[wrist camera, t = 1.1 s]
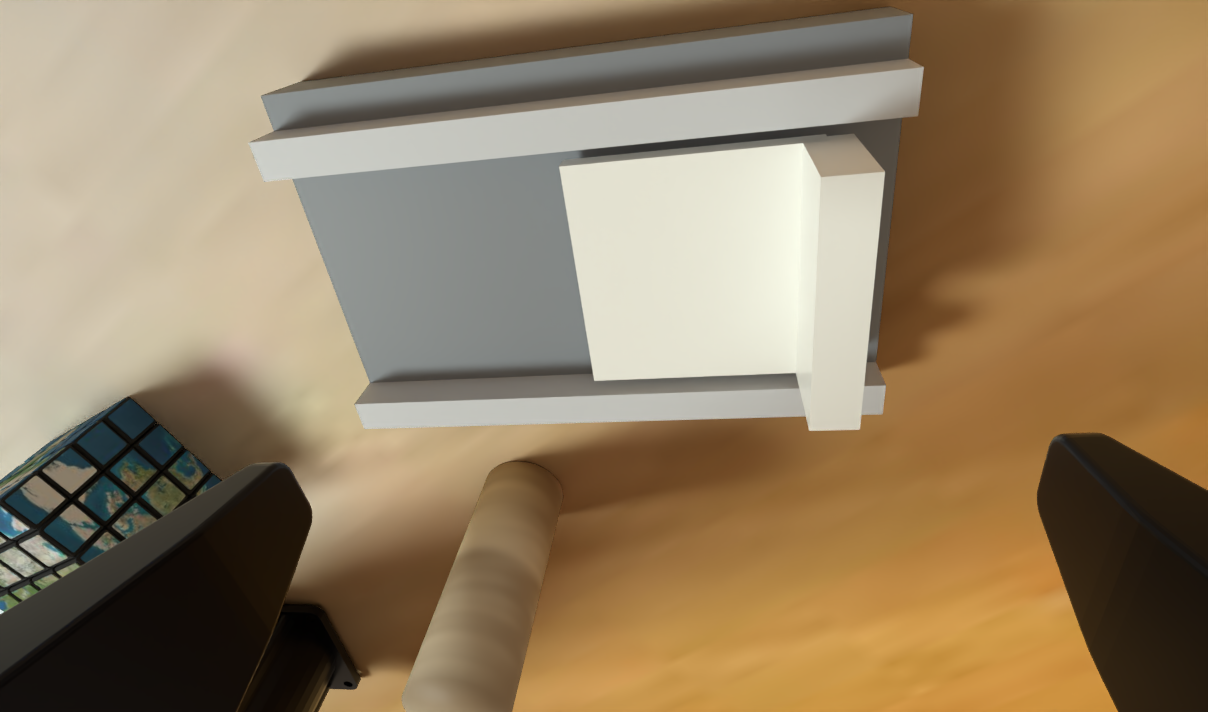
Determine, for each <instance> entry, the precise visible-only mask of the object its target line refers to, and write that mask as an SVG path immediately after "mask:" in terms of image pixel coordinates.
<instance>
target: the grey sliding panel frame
mask: <svg viewBox="0 0 1208 712" xmlns="http://www.w3.org/2000/svg"><path fill="white" fill-rule="evenodd" d="M912 20H913V14H911V13H908V12H905V11H902V10H899V9H896V8H893V7H883V8H875V9H867V10H859V11H852V12H844V13H836V14H828V15H820V16H812V17H805V18H797V19H789V20H781V21H773V22H765V23H758V24H750V25H742V26H734V27H726V28H718V29H711V30H703V31H695V32H687V33H679V34H672V35H664V36H656V37H648V38H640V39H632V40H625V41H617V42H609V43H601V44H593V45H585V46H578V47H570V48H562V49H554V50H546V51H538V52H531V53H523V54H515V55H507V56H499V57H491V58H484V59H476V60H468V61H460V62H452V63H444V64H437V65H429V66H421V67H413V68H405V69H397V70H390V71H382V72H374V73H366V74H358V75H351V76H343V77H335V78H327V79H319V80H311V81H304V82H298V83H295V84H293V85H290V86H287V87H284V88H281V89H279V90H276V91H273V92H270V93H267V94H265V95H262V96H261V98H262V101H263V103H264V106H265V109H266V111H267V114H268V117H269V119H270V122H271V124H272V127H273V130H274V131H273V132H271V133H269V134H267V135H265V136H262V137H260V138H258V139H256V140H254V141H251V142H249V146H250V148H251V151H252V153H253V156H254V158H255V160H256V163H257V165H258V168H259V170H260V173H261V175H262V178H263V180H264V182H266V181H276V180H286V179H293V182H294V185H295V187H296V190H297V192H298V195H299V198H300V200H301V203H302V206H303V208H304V211H305V213H306V216H307V219H308V221H309V224H310V227H311V229H312V232H313V234H314V237H315V240H316V242H317V245H318V248H319V250H320V253H321V255H322V258H323V261H324V263H325V266H326V268H327V271H328V274H329V276H330V279H331V282H332V284H333V287H334V289H335V292H336V295H337V297H338V300H339V303H340V305H341V308H342V310H343V313H344V316H345V318H346V321H347V324H348V326H349V329H350V331H351V334H352V337H353V339H354V342H355V344H356V347H357V350H358V352H359V355H360V358H361V360H362V363H363V365H364V368H365V371H366V373H367V376H368V379H369V381H370V384H369V385H368V386H367V388H366V389H365V391H364V392H363V393H362V395H361V396H360V397H359V399H358V400H357V401H356V403H355V404H354V405H355V407H356V410H357V412H358V415H359V417H360V419H361V422H362V424H363V427H364V429H381V428H417V427H452V426H487V425H522V424H557V423H592V422H627V421H662V420H697V419H732V418H768V417H803V416H806V415H805V410H804V406H803V402H802V397H801V393H800V389H799V384H798V380H797V376H796V373H781V374H756V375H731V376H705V377H680V378H655V379H629V380H604V381H594V376H593V370H592V364H591V358H590V352H589V346H588V340H587V334H586V328H585V322H584V315H583V309H582V303H581V297H580V291H579V285H578V279H577V273H576V267H575V261H574V254H573V248H572V242H571V236H570V230H569V224H568V218H567V212H566V206H565V200H564V193H563V187H562V181H561V175H560V169H559V166H560V164H561V163H562V161H563V160H567V159H577V158H587V157H597V156H607V155H618V154H628V153H638V152H648V151H658V150H668V149H679V148H689V147H699V146H709V145H719V144H730V143H740V142H750V141H760V140H770V139H780V138H791V137H801V136H811V135H821V134H826V135H827V136H834V135H844V134H855V136H856V137H857V138H858V139H859V140H860V142H861V143H862V144H863V145H864V147H865V148H866V149H867V150H868V151H869V153H870V154H871V155H872V156H873V158H874V159H875V160H876V161H877V162H878V164H879V165H880V166H881V167H882V169H883V170H884V171H885V178H884V188H883V198H882V208H881V218H880V229H879V239H878V249H877V259H876V270H875V280H874V290H873V300H872V310H871V321H870V331H869V341H868V351H867V362H866V372H865V382H864V392H863V402H862V413H861V415H873V414H883V406H884V398H885V390H886V384H885V382H884V380H883V377H882V375H881V373H880V370H879V368H878V365H877V363H876V357H877V348H878V339H879V329H880V320H881V310H882V301H883V292H884V282H885V273H886V264H887V254H888V245H889V236H890V226H891V217H892V208H893V198H894V189H895V179H896V170H897V161H898V151H899V142H900V133H901V123H902V118H904V117H914V116H918V113H919V104H920V96H921V87H922V79H923V71H924V67H923V66H921V65H919V64H917V63H916V62H914V61H912V60H910V59H908V58H909V49H910V39H911V30H912Z"/></svg>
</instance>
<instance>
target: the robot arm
mask: <svg viewBox="0 0 1208 712" xmlns="http://www.w3.org/2000/svg"><path fill="white" fill-rule="evenodd" d="M1037 505H1038V510H1039V514H1040V517H1041V520H1042V523H1043V525H1044V528H1045V531H1046V534H1047V537H1048V539H1049V542H1050V545H1051V548H1052V551H1053V553H1054V556H1055V559H1056V562H1057V565H1058V567H1059V570H1060V573H1061V576H1062V579H1063V581H1064V584H1065V587H1066V590H1067V593H1068V595H1069V598H1070V601H1071V604H1072V607H1073V609H1074V612H1075V615H1076V618H1077V621H1078V623H1079V626H1080V629H1081V631H1082V634H1083V637H1084V639H1085V642H1086V644H1087V647H1088V649H1089V652H1090V654H1091V656H1092V658H1093V661H1094V663H1095V665H1096V667H1097V669H1098V671H1099V674H1100V676H1101V678H1102V680H1103V682H1104V684H1105V686H1106V688H1107V690H1108V692H1109V694H1110V696H1111V698H1112V700H1113V702H1114V704H1115V706H1116V708H1117V710H1118V712H1208V490H1206V489H1204V488H1202V487H1200V486H1199V485H1197V484H1195V483H1193V482H1191V481H1189V480H1188V479H1186V478H1184V477H1182V476H1180V475H1178V474H1177V473H1175V472H1173V471H1171V470H1169V469H1167V468H1166V467H1164V466H1162V465H1160V464H1158V463H1157V462H1155V461H1153V460H1151V459H1149V458H1147V457H1146V456H1144V455H1142V454H1140V453H1138V452H1136V451H1135V450H1133V449H1131V448H1129V447H1127V446H1125V445H1124V444H1122V443H1120V442H1118V441H1116V440H1115V439H1113V438H1111V437H1109V436H1107V435H1104V434H1101V433H1069V434H1060V435H1058V436H1056V437H1054V438H1053V440H1052V441H1051V443H1050V446H1049V449H1048V452H1047V456H1046V460H1045V464H1044V468H1043V471H1042V475H1041V479H1040V483H1039V487H1038V491H1037ZM311 523H312V509H311V506H310V503H309V502H308V500H307V498H306V496H305V494H304V492H303V491H302V489H301V487H300V485H299V483H298V482H297V480H296V478H295V476H294V474H293V472H292V471H291V469H290V468H289V467H288V466H287V465H285V464H284V463H280V462H266V463H254V464H251V465H249V466H247V467H245V468H243V469H242V470H240V471H238V472H237V473H235V474H233V475H232V476H230V477H228V478H227V479H225V480H223V481H222V482H220V483H218V484H217V485H215V486H213V487H212V488H210V489H208V490H207V491H205V492H203V493H202V494H200V495H198V496H197V497H195V498H193V499H192V500H190V501H188V502H187V503H185V504H183V505H182V506H180V507H178V508H177V509H175V510H173V511H172V512H170V513H168V514H167V515H165V516H163V517H162V518H160V519H158V520H157V521H155V522H153V523H152V524H150V525H148V526H147V527H145V528H143V529H142V530H140V531H138V532H137V533H135V534H133V535H132V536H130V537H128V538H127V539H125V540H123V541H122V542H120V543H118V544H117V545H115V546H113V547H112V548H110V549H108V550H107V551H105V552H103V553H102V554H100V555H98V556H97V557H95V558H93V559H92V560H90V561H88V562H87V563H85V564H83V565H82V566H80V567H78V568H77V569H75V570H73V571H72V572H70V573H68V574H67V575H65V576H63V577H62V578H60V579H58V580H57V581H55V582H53V583H52V584H50V585H48V586H47V587H45V588H43V589H42V590H40V591H38V592H37V593H35V594H33V595H32V596H30V597H28V598H27V599H25V600H23V601H22V602H20V603H18V604H17V605H15V606H13V607H12V608H10V609H8V610H7V611H5V612H3V613H2V614H0V712H318V711H319V709H320V707H321V705H322V703H323V701H324V699H325V697H326V695H327V693H328V691H329V689H350V690H352V689H356V688H357V686H358V684H359V682H360V680H361V679H360V676H359V675H358V673H357V671H356V669H355V667H354V665H353V664H352V662H351V660H350V658H349V656H348V655H347V653H346V651H345V649H344V647H343V645H342V644H341V642H340V640H339V638H338V636H337V634H336V633H335V631H334V629H333V627H332V625H331V623H330V622H329V620H328V618H327V616H326V614H325V613H324V611H323V610H322V609H321V608H319V607H317V606H312V605H283V604H284V601H285V598H286V595H287V592H288V589H289V587H290V584H291V581H292V578H293V575H294V572H295V570H296V567H297V564H298V561H299V558H300V555H301V553H302V550H303V547H304V544H305V541H306V538H307V536H308V533H309V530H310V527H311Z"/></svg>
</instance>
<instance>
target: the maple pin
mask: <svg viewBox="0 0 1208 712" xmlns="http://www.w3.org/2000/svg"><path fill="white" fill-rule="evenodd" d="M562 500H563V491H562V487H561V485H560V483H559V482H558V480H557V479H556V478H555V476H554V475H552V474H551V473H550V472H549V471H547V470H546V469H544V468H542V467H540V466H538V465H535V464H532V463H528V462H522V461H513V462H507V463H503V464H501V465H499V466H497V467H495V468H494V469H493V470H492V471H491V472H490V473H489V475H488V477H487V479H486V481H485V484H484V487H483V489H482V492H481V494H480V497H479V499H478V502H477V505H476V507H475V510H474V512H473V515H472V517H471V520H470V522H469V525H468V528H467V530H466V533H465V535H464V538H463V540H462V543H461V546H460V548H459V551H458V553H457V556H456V558H455V561H454V564H453V566H452V569H451V571H450V574H449V576H448V579H447V581H446V584H445V587H444V589H443V592H442V594H441V597H440V599H439V602H438V605H437V607H436V610H435V612H434V615H433V617H432V620H431V623H430V625H429V628H428V630H427V633H426V635H425V638H424V641H423V643H422V646H421V648H420V651H419V653H418V656H417V658H416V661H415V664H414V666H413V669H412V671H411V674H410V676H409V679H408V682H407V684H406V687H405V689H404V692H403V695H402V704H403V707H404V709H405V710H406V712H512V710H513V705H514V701H515V697H516V693H517V689H518V685H519V680H520V676H521V672H522V668H523V664H524V659H525V655H526V651H527V647H528V643H529V638H530V634H531V630H532V626H533V622H534V618H535V613H536V609H537V605H538V601H539V597H540V592H541V588H542V584H543V580H544V576H545V571H546V567H547V563H548V559H549V555H550V551H551V546H552V542H553V538H554V534H555V530H556V525H557V521H558V517H559V513H560V509H561V505H562Z"/></svg>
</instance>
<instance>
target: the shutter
mask: <svg viewBox="0 0 1208 712" xmlns="http://www.w3.org/2000/svg"><path fill="white" fill-rule="evenodd" d="M559 169H560V175H561V181H562V187H563V193H564V200H565V206H566V212H567V218H568V224H569V230H570V236H571V242H572V248H573V254H574V261H575V267H576V273H577V279H578V285H579V291H580V297H581V303H582V309H583V315H584V322H585V328H586V334H587V340H588V346H589V352H590V358H591V364H592V370H593V376H594V381H604V380H629V379H655V378H680V377H705V376H731V375H756V374H781V373H796V376H797V380H798V384H799V389H800V393H801V397H802V402H803V406H804V410H805V415H806V419H807V423H808V428H809V431H825V430H860V423H861V413H862V402H863V392H864V382H865V372H866V362H867V351H868V341H869V331H870V321H871V310H872V300H873V290H874V280H875V270H876V259H877V249H878V239H879V229H880V218H881V208H882V198H883V188H884V178H885V171H884V170H883V169H882V167H881V166H880V165H879V164H878V162H877V161H876V160H875V159H874V158H873V156H872V155H871V154H870V153H869V151H868V150H867V149H866V148H865V147H864V145H863V144H862V143H861V142H860V140H859V139H858V138H857V137H856V136H855V134H844V135H834V136H827V135H826V134H821V135H811V136H801V137H791V138H780V139H770V140H760V141H750V142H740V143H730V144H719V145H709V146H699V147H689V148H679V149H668V150H658V151H648V152H638V153H628V154H618V155H607V156H597V157H587V158H577V159H567V160H563V161H562V163H561V164H560V166H559Z"/></svg>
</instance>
